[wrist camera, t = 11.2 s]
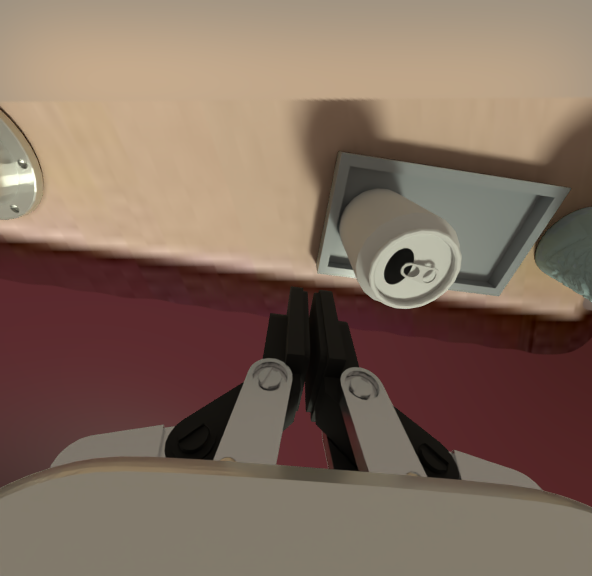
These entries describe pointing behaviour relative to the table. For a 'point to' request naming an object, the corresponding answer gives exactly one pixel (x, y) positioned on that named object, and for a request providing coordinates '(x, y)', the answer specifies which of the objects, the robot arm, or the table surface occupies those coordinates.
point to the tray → (449, 214)
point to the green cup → (569, 252)
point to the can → (399, 249)
